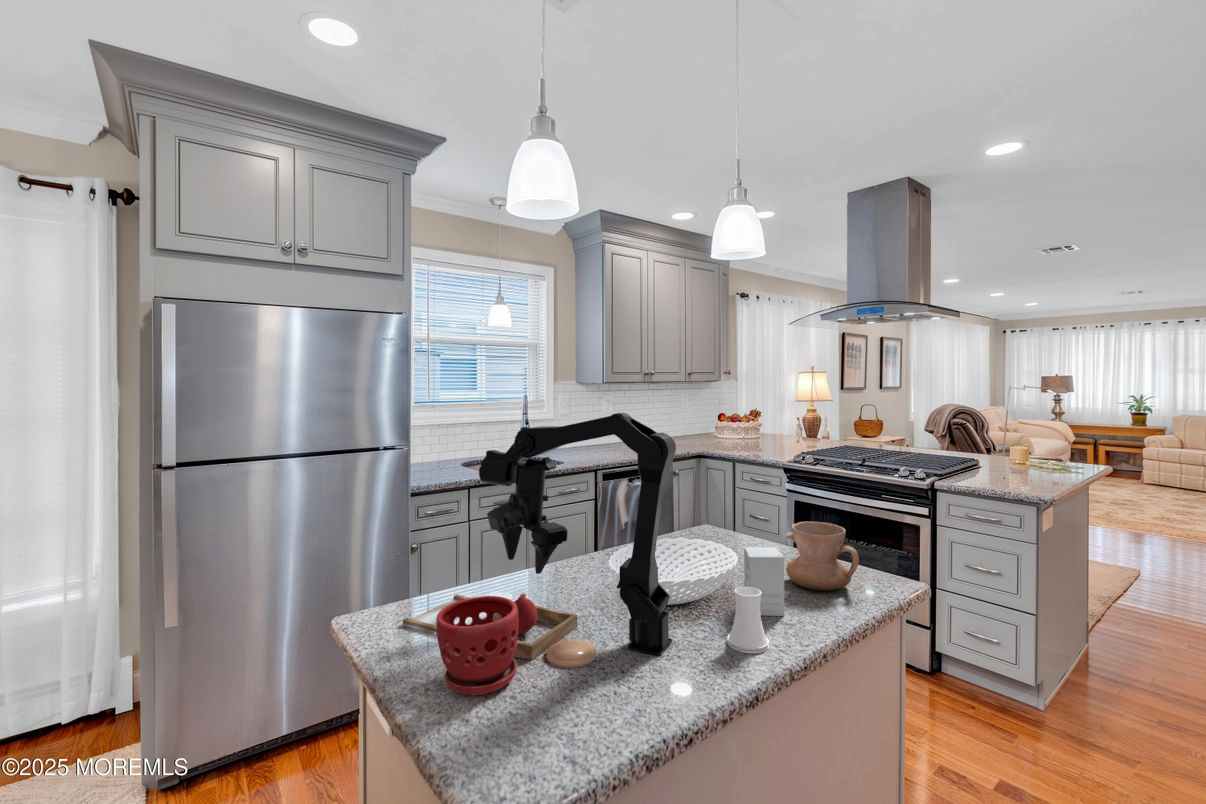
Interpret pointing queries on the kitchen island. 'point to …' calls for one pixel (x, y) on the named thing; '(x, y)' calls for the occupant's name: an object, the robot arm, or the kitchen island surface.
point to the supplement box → (766, 578)
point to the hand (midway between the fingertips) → (524, 566)
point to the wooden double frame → (523, 649)
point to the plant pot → (478, 644)
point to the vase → (748, 623)
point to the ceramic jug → (820, 556)
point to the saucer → (571, 653)
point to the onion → (526, 614)
